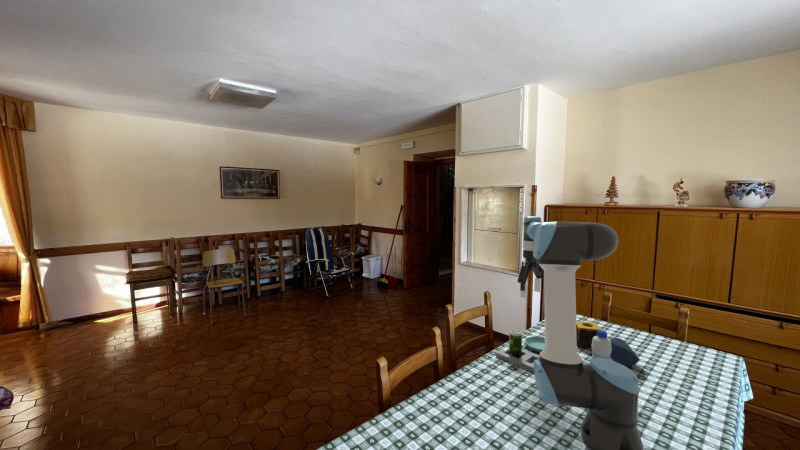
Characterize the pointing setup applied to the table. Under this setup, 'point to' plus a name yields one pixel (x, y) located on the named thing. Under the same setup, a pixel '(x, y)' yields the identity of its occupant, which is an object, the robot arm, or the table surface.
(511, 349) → the beer can
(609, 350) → the bottle
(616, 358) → the decorative stone
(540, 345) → the saucer
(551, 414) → the table surface
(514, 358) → the socket panel
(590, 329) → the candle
